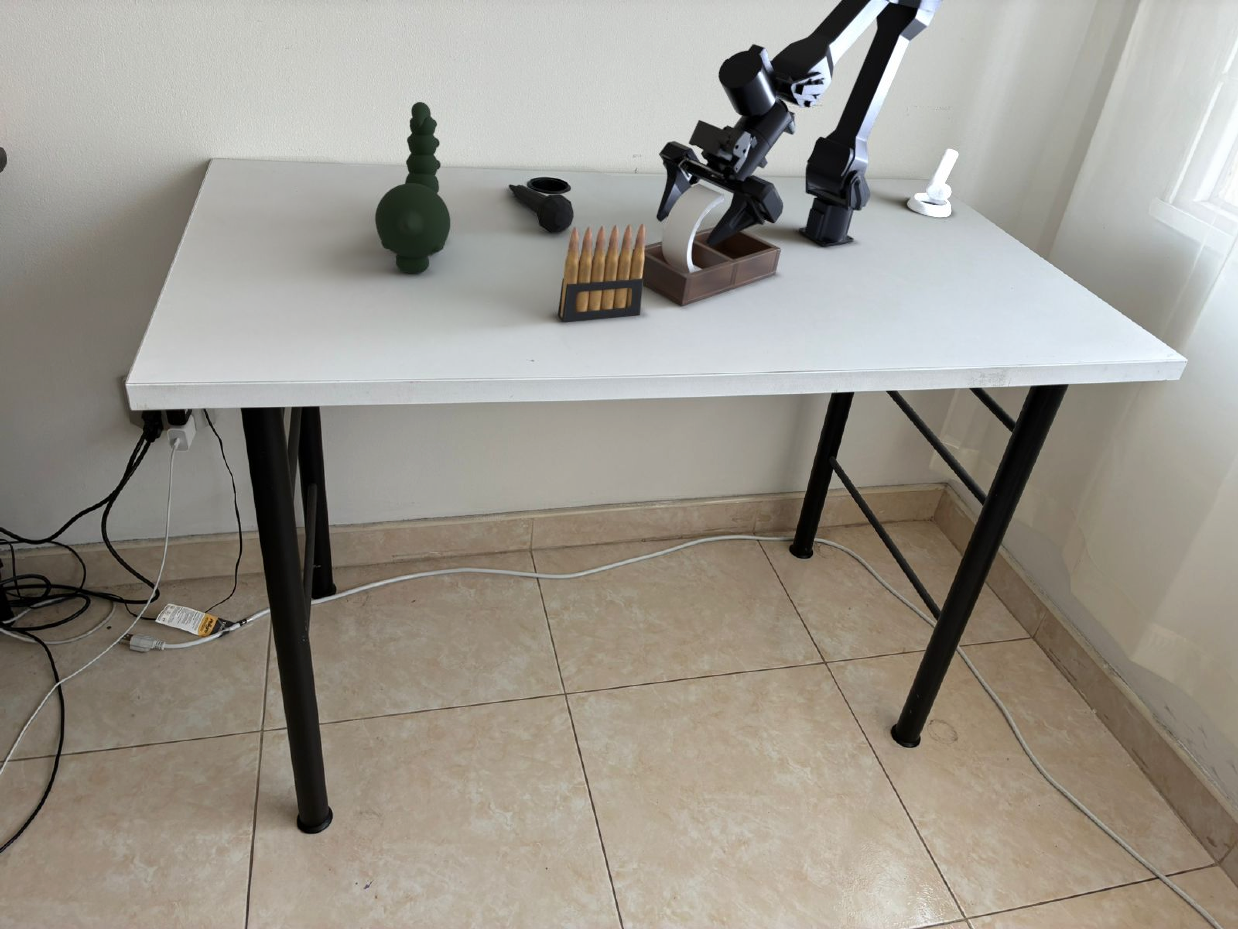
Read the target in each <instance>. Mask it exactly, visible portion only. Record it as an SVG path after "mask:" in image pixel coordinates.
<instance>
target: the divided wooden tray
mask: <svg viewBox="0 0 1238 929" xmlns="http://www.w3.org/2000/svg"><path fill="white" fill-rule="evenodd" d="M714 228H715V226H712V227H709V228H705V229H701V230H698V231H696V233H695V236H694V239H693V243H692V249H691V259H692V264H693V265H695V266H697V267H699V268H701V269H702V270H698V271H695V272H692V273H689V274H685V273H683V272H681V271H679V270H678V269H676V268H674V267H672V266H671V265H669V264H668V263H667V261H666V260H665V258H664V255H663V251H662V240H661V241H657V242H654V243H649V244H645V248H644V266H643V273H642V278H643V286H644V287H647V288H649V289H650V290H652V291H654V292H656V293H658V294H659V295H660V296H662V297H664V298H667V299H668V300H669V301H672V302H673V303H675V304H677V305H678V306H680V307H684V306H687V305H690V304H693V303H696V302H699V301H702V300H705V299H708V298H710V297H711V298H712V297H715V296H717V295H720V294H723V293H726V292H729V291H732V290H735V289H738V288H740V287H744V286H746V285H747V286H748V285H749V284H752V283H755V282H758V281H761V280H764V279H767V278H770V277H773V276H776V273H777V269H778V266H779V265H778V264H779V260H780V256H781V251H782V248H781V247H780V246H777V245H774V244H772V243H771V242H768V241H767V240H765V239H762V238H760V237H758V236H756V235H753V234H752V233H750V232H748V231H746V230H742V231H740V232H738V233H736V234H734V235H732V236H730V237H728V238H726V239H724V240H722V241H720V242H719V243H717V244H715V245H713V246H711V247H709V246H708V245H707V244H706V240H707V238H708V237H709V235H710V233H711V232H712V230H713V229H714ZM633 251H634V248H632V250H631V255H632V254H633Z"/></svg>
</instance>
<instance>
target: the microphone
mask: <svg viewBox="0 0 1238 929" xmlns="http://www.w3.org/2000/svg"><path fill="white" fill-rule="evenodd" d="M508 189H509V190H510V191H511V192H512V193H511V194H512V195H513V197H514V198H515V199H517V201H519V202H520V204H522V205H524V206H525V207H526V208H527V209H529V210H530V211H531V212H532V213H533V214H534V215H535V216H536V219H537V222H538V226H539V227H540V228H542V229H543V230H545V231H546V232H548V233H549V234H558V233H559V234H560V233H562V232H565V231H566V230H567V229H568V228H569V227H570V226H571V225H572V223H573V221H574V217H575V215H574V213H575V211H574V208H573V205H572V204H573V203H572V201H570V200H569V199H568V198H566V196H564V195H563V194H561V193H556V194H548V195H547V194H544V193H542V192H539V191H537V190H534V189H533V188H530V187H528V186H525V185H523V184H517V185H514V184H508Z"/></svg>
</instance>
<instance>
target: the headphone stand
mask: <svg viewBox="0 0 1238 929" xmlns="http://www.w3.org/2000/svg"><path fill="white" fill-rule="evenodd" d="M691 186H692V187H691V188H689V189H688V190H687V191H685V192H684V193H683V194H682V195H681V196H680V198H679V199H678V200H677V201H676V203H675V204H674V206H673V208H672V209H671V211H670V213H669V215H668V217H667V218H666V221H665V224H664V227H663V230H662V237H661V238H662V239H661V241H662V251H663V255H664V258H665V260H666V261H667V263H668V264H669V265H671V266H672V267H674V268H676V269H678V270H679V271H681V272H683V273H685V274H689V273H692V272H695V271H698V270H702V269H701V268H699V267H697V266H695V265H693V264H692V259H691V249H692V243H693V239H694V236H695V233H696V232H697V230H698V229H699V226H700V225H701V223H702V221H703V219H704V218H705V217H706V216H707V215H708V213H709V212H710V211H711V210H712V209H713V208H714V207H715V206H717V205H719V204H720V203H722V202H724V201H725V197H726V195H725V194H724V193H721V192H719V191H717V190H714V189H712V188H709V187H707V186H705V185H704V184H703V185H702V184H701V183H696V184H693V185H691Z"/></svg>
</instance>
